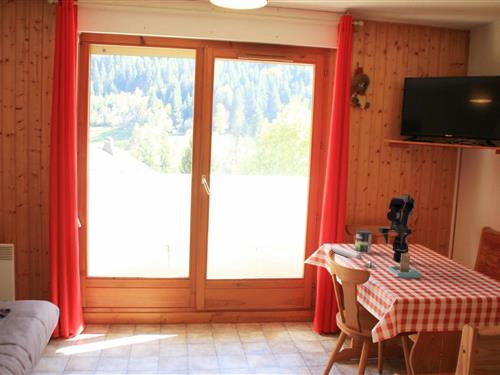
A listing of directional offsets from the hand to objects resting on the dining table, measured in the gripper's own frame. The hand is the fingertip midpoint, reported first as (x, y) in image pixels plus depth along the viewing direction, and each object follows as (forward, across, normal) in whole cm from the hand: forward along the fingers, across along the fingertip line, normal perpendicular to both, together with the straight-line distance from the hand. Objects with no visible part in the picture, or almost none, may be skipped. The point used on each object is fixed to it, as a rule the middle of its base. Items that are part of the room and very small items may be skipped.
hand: (394, 244), depth 304 cm
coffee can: (+13, -6, +34) cm, 37 cm away
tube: (+14, -21, +22) cm, 34 cm away
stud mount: (+13, -17, -8) cm, 23 cm away
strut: (+13, -1, -18) cm, 22 cm away
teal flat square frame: (+13, -1, -18) cm, 23 cm away
